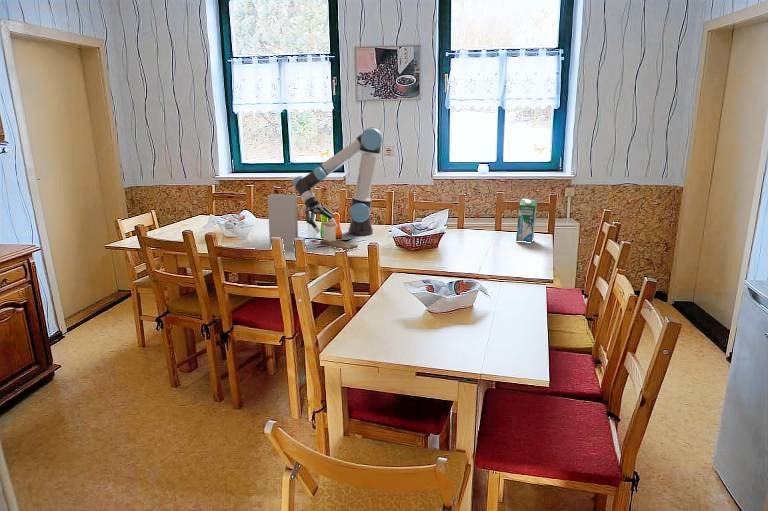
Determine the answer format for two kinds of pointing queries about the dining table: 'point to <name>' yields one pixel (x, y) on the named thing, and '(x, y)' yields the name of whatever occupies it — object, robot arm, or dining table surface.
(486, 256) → the dining table surface
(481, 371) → the dining table surface
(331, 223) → the stub
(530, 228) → the milk carton
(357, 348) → the dining table surface
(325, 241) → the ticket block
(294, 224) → the tall grey block
